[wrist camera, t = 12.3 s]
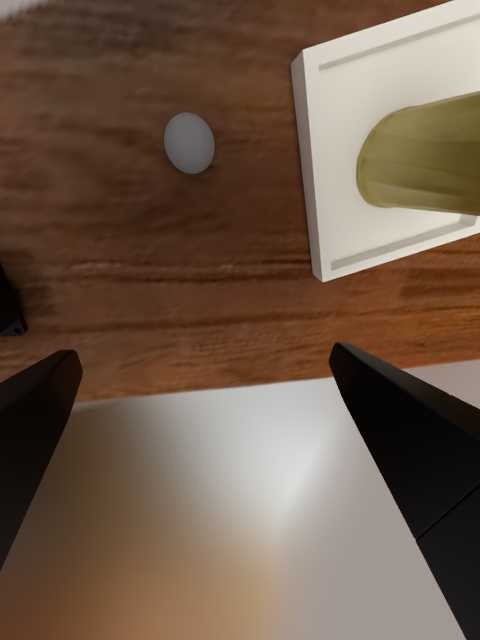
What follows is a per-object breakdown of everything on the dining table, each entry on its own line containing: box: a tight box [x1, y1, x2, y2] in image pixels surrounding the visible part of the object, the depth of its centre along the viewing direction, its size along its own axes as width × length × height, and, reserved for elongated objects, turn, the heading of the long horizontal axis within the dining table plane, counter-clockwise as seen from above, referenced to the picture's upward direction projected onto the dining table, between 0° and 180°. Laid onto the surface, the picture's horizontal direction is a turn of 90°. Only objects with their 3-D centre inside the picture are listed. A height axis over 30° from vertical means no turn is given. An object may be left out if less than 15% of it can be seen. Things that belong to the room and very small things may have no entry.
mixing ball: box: [164, 112, 215, 174], centre depth 15 cm, size 3×3×3 cm
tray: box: [290, 0, 480, 282], centre depth 17 cm, size 14×14×2 cm
